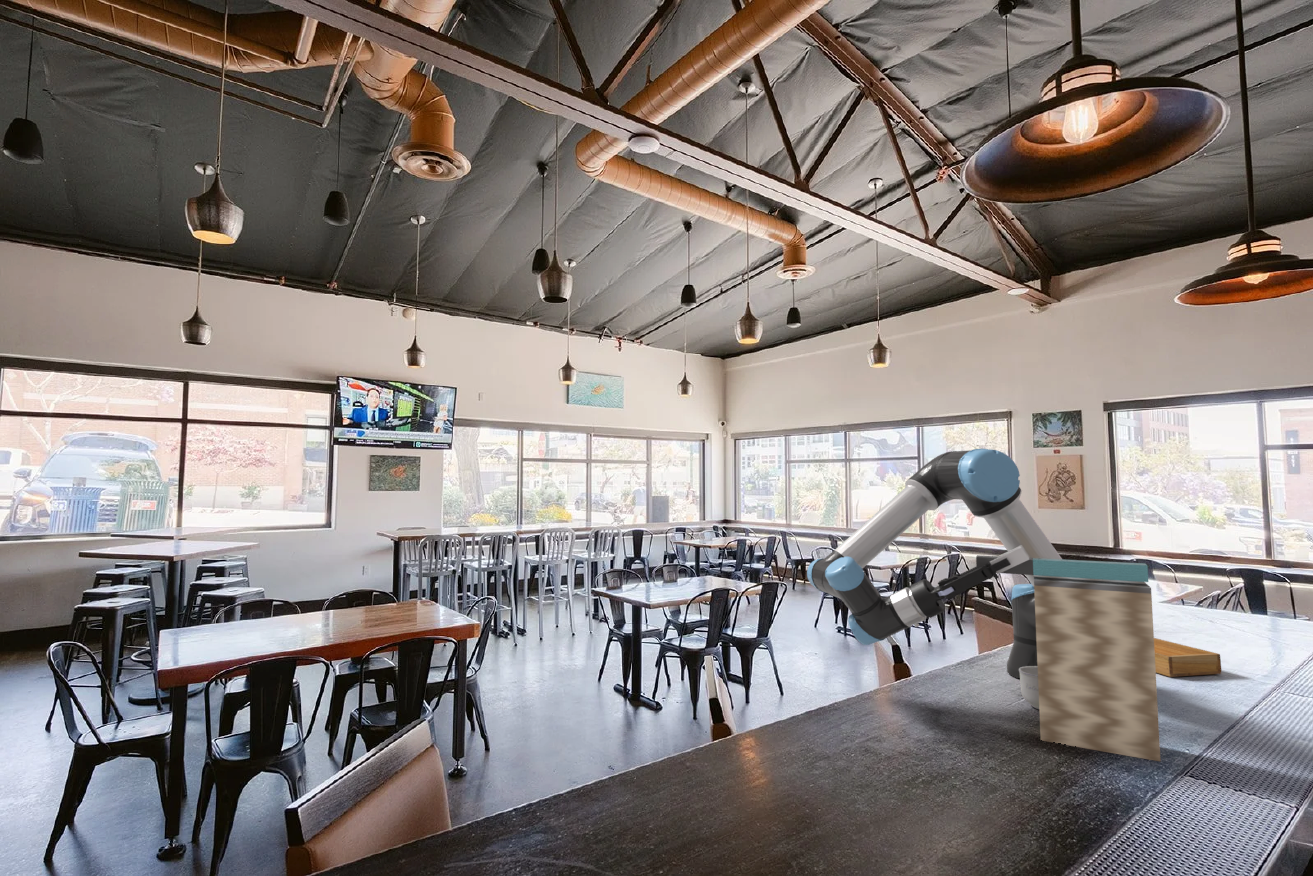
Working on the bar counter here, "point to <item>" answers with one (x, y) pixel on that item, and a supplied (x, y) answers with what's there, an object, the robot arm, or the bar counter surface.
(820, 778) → the bar counter surface
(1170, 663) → the tray
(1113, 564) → the teal and grey bar
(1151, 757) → the pedestal
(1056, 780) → the bar counter surface
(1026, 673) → the teacup
